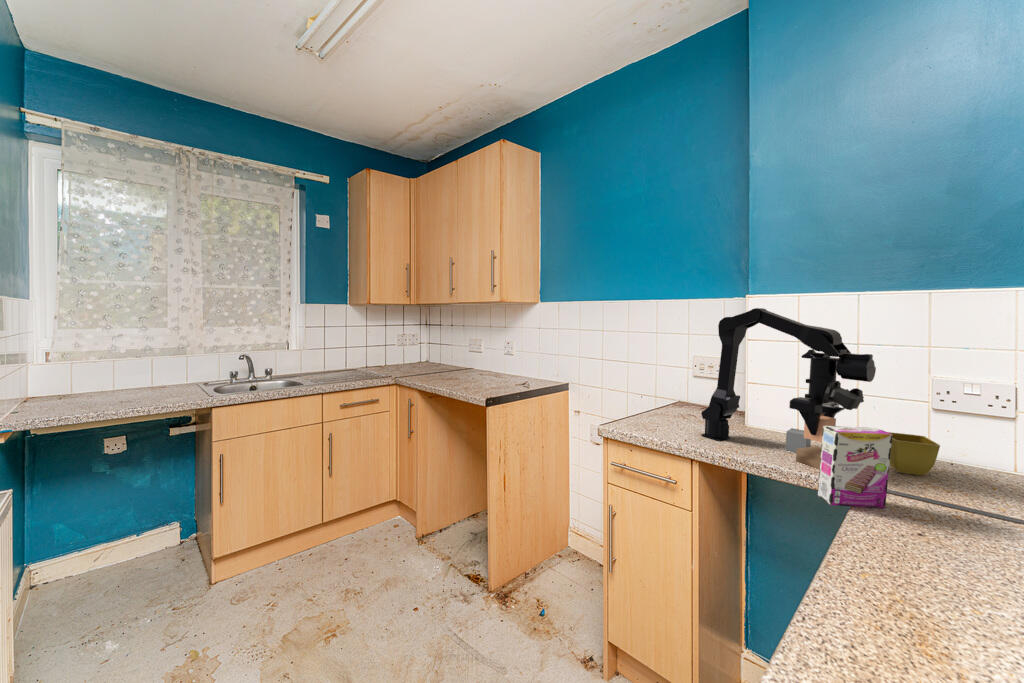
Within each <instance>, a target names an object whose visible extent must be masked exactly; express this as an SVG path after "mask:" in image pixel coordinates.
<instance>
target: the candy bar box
mask: <svg viewBox="0 0 1024 683" xmlns="http://www.w3.org/2000/svg"><path fill="white" fill-rule="evenodd" d="M888 432H889V431H885V430H883V429H879V428H877V427H867V426H865V427H864V426H860V427H859V426H823V435H822V442H821V447H820V448H821V461H820V471H819V472H818V473H819V475H818V486H817V487H818V488H817V497H818V498H820V499H822V501H824V502H825V503H826V504H828V505H829V506H840V507H856V508H857V507H859V508H876V509H878V508H879V509H886V504H887V503H886V502H887V493H888V483H889V472H890V471H889V470H890V453H891V443H892V434H890V433H888Z"/></svg>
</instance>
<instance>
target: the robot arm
mask: <svg viewBox="0 0 1024 683" xmlns="http://www.w3.org/2000/svg"><path fill="white" fill-rule="evenodd" d="M758 324H762V325H764V326H767V327H769V328H772V329H774V330H776V331H778V332H781V333H784V334H787V335H789V336H791V337H794V338H796V339H797V340H799V342H801V344H803V345H805V346H807V348H810V349H808V351H807V352H805V353H804V354H802V355H801V358H802V359H808V360H809V359H810V361H809V362H810V365H809V366H810V367H809V378H805V384H808V393H804V397H802V396H798V397H793V398H792V399H790V400H789V407H788V409H790V410H791V409H792V410H796V411H798V412H799V414H800V415H801V418H802V420H803V421H804V424H805V423H806V425H807V427H808V429H809V431H810V433H811V435H816V433H817V430H818V425H819V420H820V417H821V416H827V417H831V418H835V416H836V415H837V414H838V413H840V412H842V411H844V410H849V411H852V410H853V409H855V410H856V409H858V408H859V406H860V405H861V403H864V402H865V400H864V398H865V397H864V395H863V394H864V393H863V390H862V389H860V388H858V387H857V388H851V389H850V390H849V389H848V388H847V389H845V388H842V387H841V382H840V380H837V376H840V377H841V379H843V380H850V381H859V382H867V383H871V382H873V380H874V378H875V376H876V371H877V369H876V368H877V367H876V365H875V361H874V359H873V358H874V354H871V353H870V354H869V353H864V354H862V353H860V354H859V353H852V352H851V351H850V350H849V349H848V347H847V346H846V345H845V344H844V342H843V338H842V336H841V333H840V332H839V331H838V330H835V329H832V328H827V327H823V326H822V327H821V326H815V325H809V324H805V323H802V322H799V321H796V320H794V319H792V318H788V317H785V316H783V315H780V314H777V313H775V312H772V311H769V310H767V309H766V308H764V307H763V308H760V307H757V308H752V309H750V310H748V311H746V312H743V313H739V314H737V315H736V314H735V315H733V316H726V317H725V316H724V317H723V318H722V319H720V320H719V322H718V326H717V327H718V329H717V330H718V337H719V340H720V343H721V351H720V362H719V366H718V367H719V369H718V376H717V377H718V378H717V386H716V388H715V390H714V392H713V393H712V395H711V398H710V400H709V404H708V407H706V408H705V409H704V410H703V411H701V412H700V414H701V416H702V417H701V418H702V419H703V420H704V433H701V435H700V436H702V437H705V438H708V439H711V440H715V441H724V440H728V439H731V436H730V425H729V420H728V419H731V418H732V417H733V416H732V415H733V414H735V413H736V412H737V411H738V409H739V408H740V399H741V395H736V392H735V382H736V381H735V380H736V374H737V366H738V365H737V364H738V358H739V357H738V356H739V349H740V344H742V341H744V339H745V336H746V333H747V330H748V329H750V328H753V327H754V326H756V325H758Z"/></svg>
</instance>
